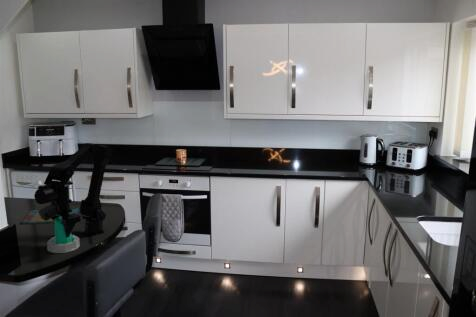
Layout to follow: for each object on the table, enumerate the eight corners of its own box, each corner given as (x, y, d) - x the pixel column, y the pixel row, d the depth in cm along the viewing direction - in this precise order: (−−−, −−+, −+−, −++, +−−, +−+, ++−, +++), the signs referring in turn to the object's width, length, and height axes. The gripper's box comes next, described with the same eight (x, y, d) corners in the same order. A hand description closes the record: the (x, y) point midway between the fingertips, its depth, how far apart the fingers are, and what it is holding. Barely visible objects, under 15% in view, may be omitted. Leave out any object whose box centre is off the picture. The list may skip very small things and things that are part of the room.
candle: (52, 245, 157) (50, 216, 155) (61, 239, 163) (60, 212, 160) (66, 247, 156) (64, 218, 154) (74, 241, 162) (73, 213, 159)
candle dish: (70, 238, 168) (70, 232, 167) (85, 246, 160) (85, 239, 160) (41, 246, 159) (41, 239, 158) (56, 255, 151) (55, 248, 151)
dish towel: (75, 223, 188) (75, 218, 188) (20, 225, 182) (20, 220, 182) (79, 212, 204) (79, 207, 204) (30, 214, 198) (29, 209, 198)
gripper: (30, 196, 155) (32, 234, 158) (52, 207, 144) (54, 247, 147) (57, 191, 164) (59, 227, 167) (80, 201, 152) (82, 239, 155)
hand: (63, 234), depth 159 cm, fingers closed on candle, 7 cm apart
